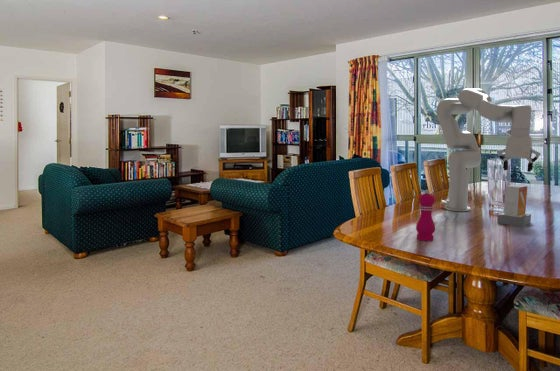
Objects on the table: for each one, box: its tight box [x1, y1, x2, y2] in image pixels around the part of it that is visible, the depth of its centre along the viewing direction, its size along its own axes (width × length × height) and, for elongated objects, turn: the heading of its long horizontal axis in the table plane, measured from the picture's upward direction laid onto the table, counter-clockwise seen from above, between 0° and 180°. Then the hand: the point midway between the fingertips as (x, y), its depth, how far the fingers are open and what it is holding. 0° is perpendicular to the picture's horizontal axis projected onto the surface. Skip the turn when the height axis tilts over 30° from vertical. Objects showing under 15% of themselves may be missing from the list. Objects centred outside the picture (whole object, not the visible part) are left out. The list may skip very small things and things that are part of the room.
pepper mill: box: [415, 189, 436, 242], centre depth 170 cm, size 7×7×20 cm
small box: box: [503, 184, 528, 216], centre depth 197 cm, size 8×6×13 cm
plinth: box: [496, 211, 532, 228], centre depth 198 cm, size 11×11×4 cm
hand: (517, 170), depth 195 cm, fingers open, 9 cm apart
